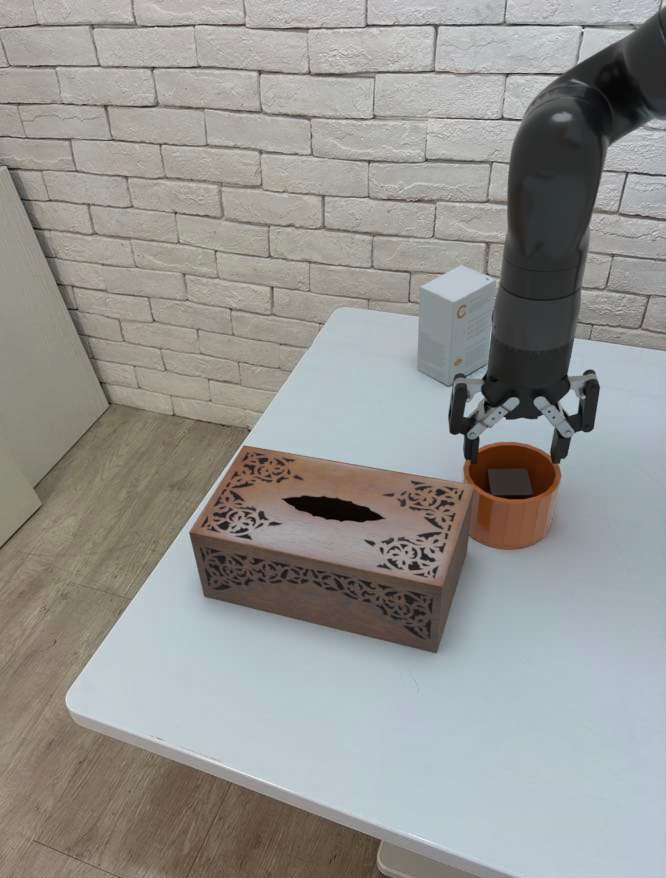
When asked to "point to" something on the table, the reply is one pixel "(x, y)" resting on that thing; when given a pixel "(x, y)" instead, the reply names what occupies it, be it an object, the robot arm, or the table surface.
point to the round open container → (512, 517)
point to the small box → (455, 323)
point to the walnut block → (508, 483)
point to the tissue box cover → (335, 544)
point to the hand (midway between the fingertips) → (513, 459)
